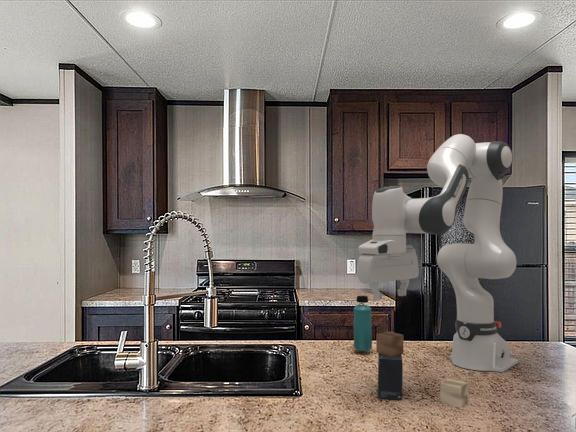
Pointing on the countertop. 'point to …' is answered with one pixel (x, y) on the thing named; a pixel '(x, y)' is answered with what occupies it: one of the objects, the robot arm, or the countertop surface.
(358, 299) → the beverage bottle
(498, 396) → the countertop surface
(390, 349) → the walnut cube
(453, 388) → the maple cube
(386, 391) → the small box
